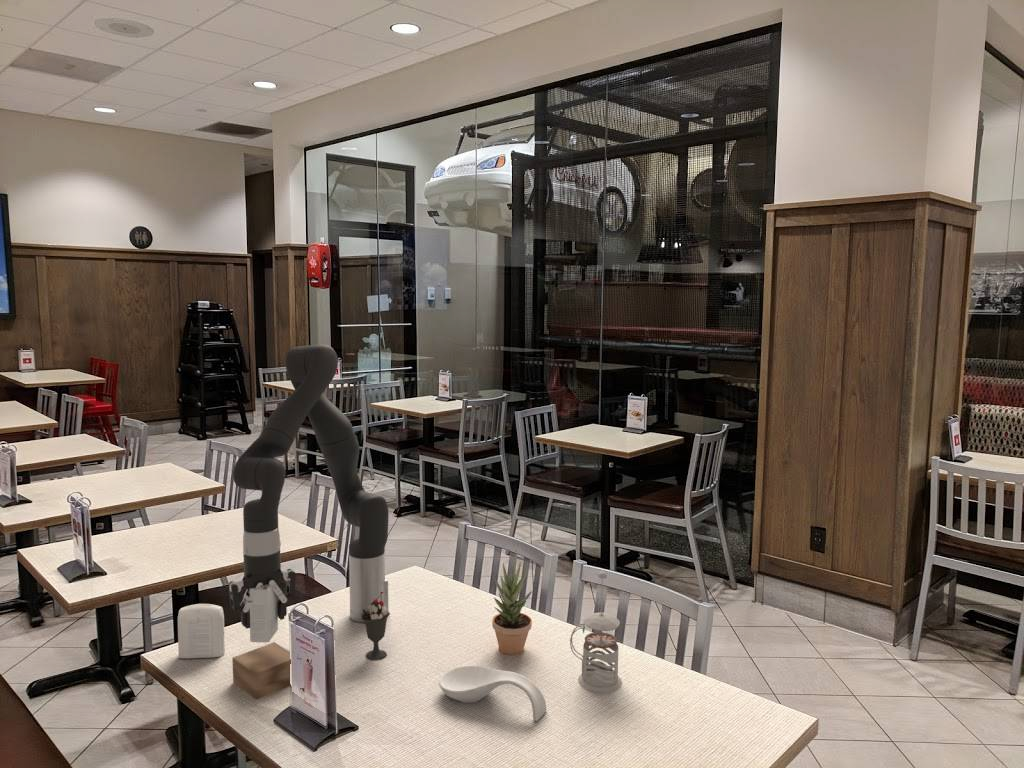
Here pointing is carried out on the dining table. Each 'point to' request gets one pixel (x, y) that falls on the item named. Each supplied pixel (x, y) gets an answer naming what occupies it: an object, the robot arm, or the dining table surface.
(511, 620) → the potted plant
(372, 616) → the sundae
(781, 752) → the dining table surface
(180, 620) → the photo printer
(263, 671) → the walnut block
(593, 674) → the french press
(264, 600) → the skincare box
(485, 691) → the spoon rest
